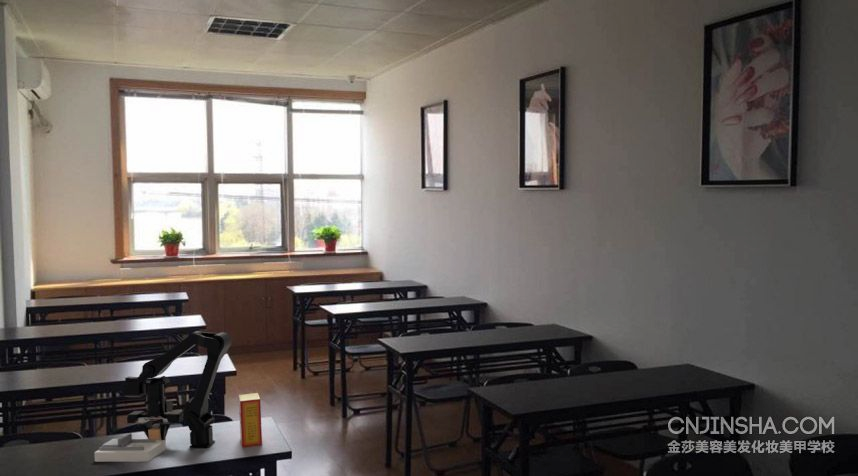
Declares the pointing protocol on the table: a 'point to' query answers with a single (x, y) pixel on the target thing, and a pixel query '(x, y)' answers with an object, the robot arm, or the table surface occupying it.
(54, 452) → the table surface
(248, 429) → the baking soda box
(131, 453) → the board
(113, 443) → the shutter
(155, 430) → the plug
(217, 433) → the table surface
